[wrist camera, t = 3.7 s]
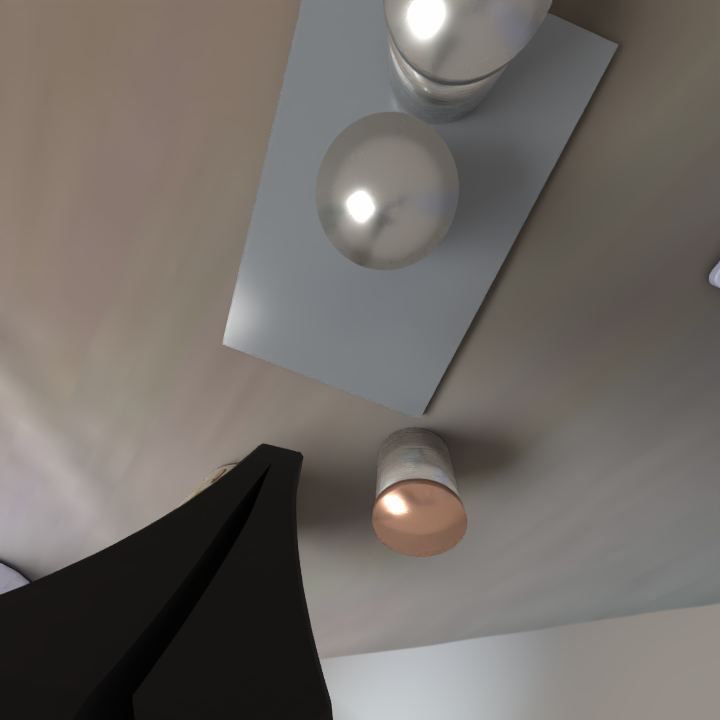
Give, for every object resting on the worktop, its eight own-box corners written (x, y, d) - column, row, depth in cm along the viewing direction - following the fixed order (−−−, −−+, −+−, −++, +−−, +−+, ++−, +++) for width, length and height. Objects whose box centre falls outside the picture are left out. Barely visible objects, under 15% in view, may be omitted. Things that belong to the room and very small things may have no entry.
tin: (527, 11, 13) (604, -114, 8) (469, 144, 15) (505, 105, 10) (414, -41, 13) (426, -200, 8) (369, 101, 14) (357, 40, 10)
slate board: (609, 52, 13) (618, 44, 13) (418, 414, 20) (419, 419, 20) (325, -77, 13) (322, -91, 12) (227, 340, 20) (222, 343, 19)
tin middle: (457, 172, 15) (486, 147, 10) (414, 272, 17) (421, 290, 12) (360, 130, 15) (343, 85, 10) (326, 236, 16) (298, 240, 12)
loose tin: (463, 442, 21) (484, 506, 16) (431, 495, 22) (441, 567, 18) (393, 415, 20) (393, 472, 16) (366, 471, 22) (358, 538, 17)
